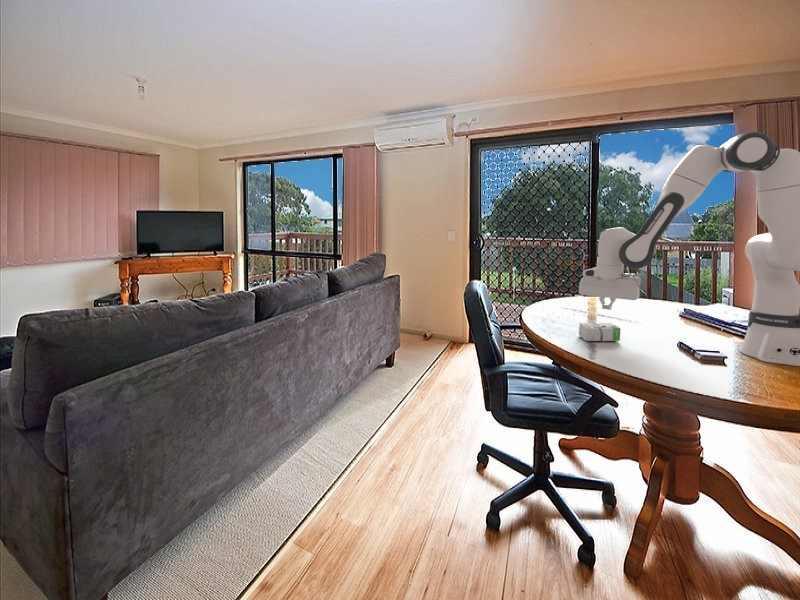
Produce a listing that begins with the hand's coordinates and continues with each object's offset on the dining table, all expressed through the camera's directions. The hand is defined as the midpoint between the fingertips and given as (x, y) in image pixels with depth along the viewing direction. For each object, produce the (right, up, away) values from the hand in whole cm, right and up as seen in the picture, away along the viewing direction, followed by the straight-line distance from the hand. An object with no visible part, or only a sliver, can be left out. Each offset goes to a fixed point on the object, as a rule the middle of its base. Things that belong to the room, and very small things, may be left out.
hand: (606, 309), depth 153 cm
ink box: (+2, -8, -2) cm, 9 cm away
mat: (-2, -10, +3) cm, 11 cm away
